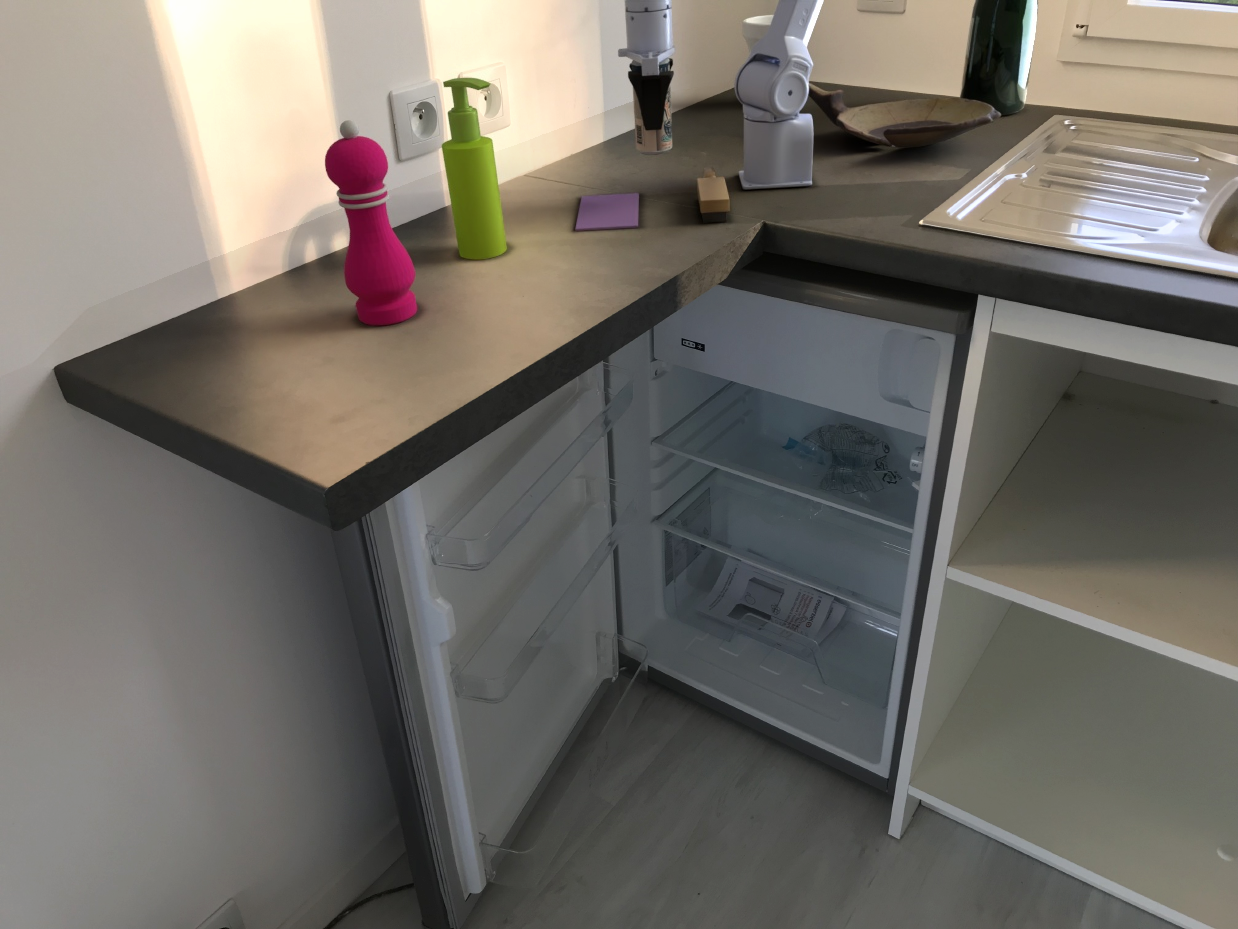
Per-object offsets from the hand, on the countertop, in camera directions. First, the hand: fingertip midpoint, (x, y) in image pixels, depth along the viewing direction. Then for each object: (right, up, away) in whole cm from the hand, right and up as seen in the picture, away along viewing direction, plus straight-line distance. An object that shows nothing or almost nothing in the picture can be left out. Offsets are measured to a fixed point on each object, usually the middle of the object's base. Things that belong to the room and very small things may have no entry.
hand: (653, 124), depth 121 cm
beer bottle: (+59, +16, +37) cm, 71 cm away
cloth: (-6, -10, +4) cm, 13 cm away
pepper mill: (-29, -28, -21) cm, 46 cm away
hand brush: (+8, -9, +4) cm, 13 cm away
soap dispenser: (-21, -18, -6) cm, 28 cm away
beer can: (0, -3, +2) cm, 4 cm away
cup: (+24, +23, +53) cm, 62 cm away
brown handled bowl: (+39, +6, +25) cm, 47 cm away
